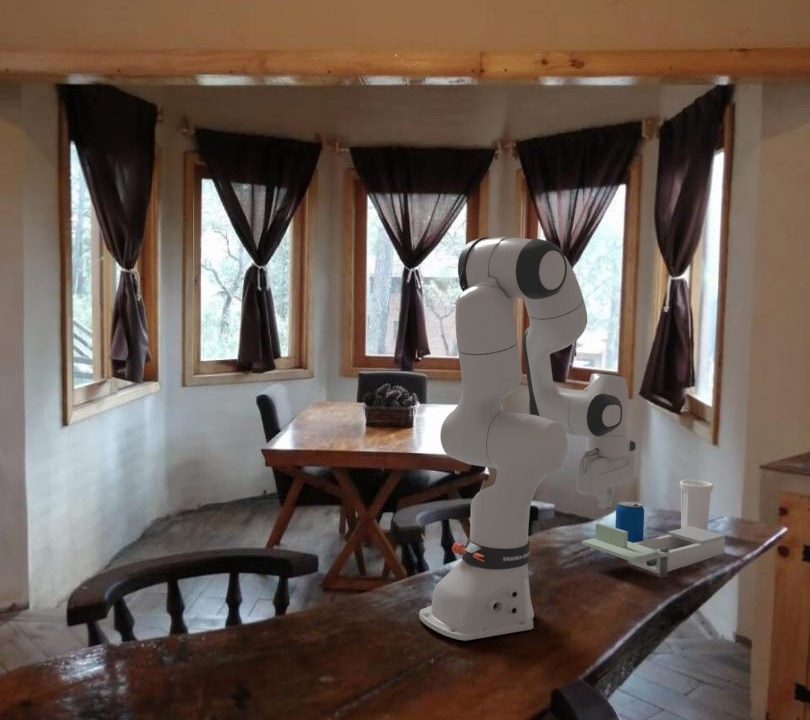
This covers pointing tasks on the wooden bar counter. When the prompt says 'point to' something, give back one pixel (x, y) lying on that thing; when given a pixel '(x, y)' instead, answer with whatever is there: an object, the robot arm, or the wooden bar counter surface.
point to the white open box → (682, 549)
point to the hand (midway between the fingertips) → (604, 507)
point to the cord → (651, 562)
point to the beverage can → (630, 519)
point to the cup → (695, 503)
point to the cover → (621, 544)
